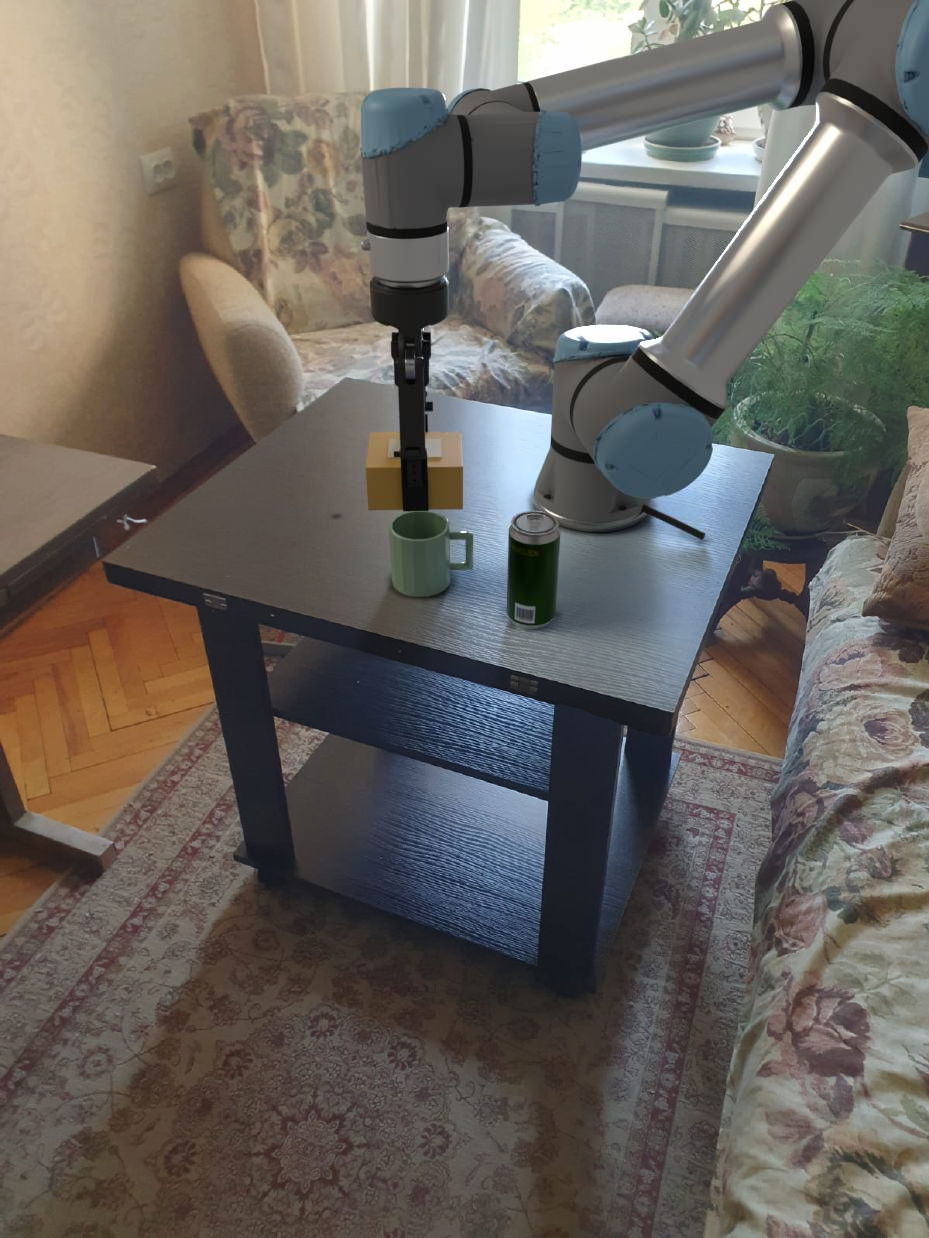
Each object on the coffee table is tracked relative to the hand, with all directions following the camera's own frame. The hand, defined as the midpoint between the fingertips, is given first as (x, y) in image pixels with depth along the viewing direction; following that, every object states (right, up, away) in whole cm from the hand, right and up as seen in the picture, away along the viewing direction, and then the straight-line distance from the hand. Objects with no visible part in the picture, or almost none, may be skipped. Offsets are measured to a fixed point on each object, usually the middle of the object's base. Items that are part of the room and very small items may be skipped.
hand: (416, 488), depth 102 cm
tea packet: (0, 0, 0) cm, 0 cm away
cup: (+2, -10, +7) cm, 12 cm away
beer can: (+13, -14, +1) cm, 19 cm away
